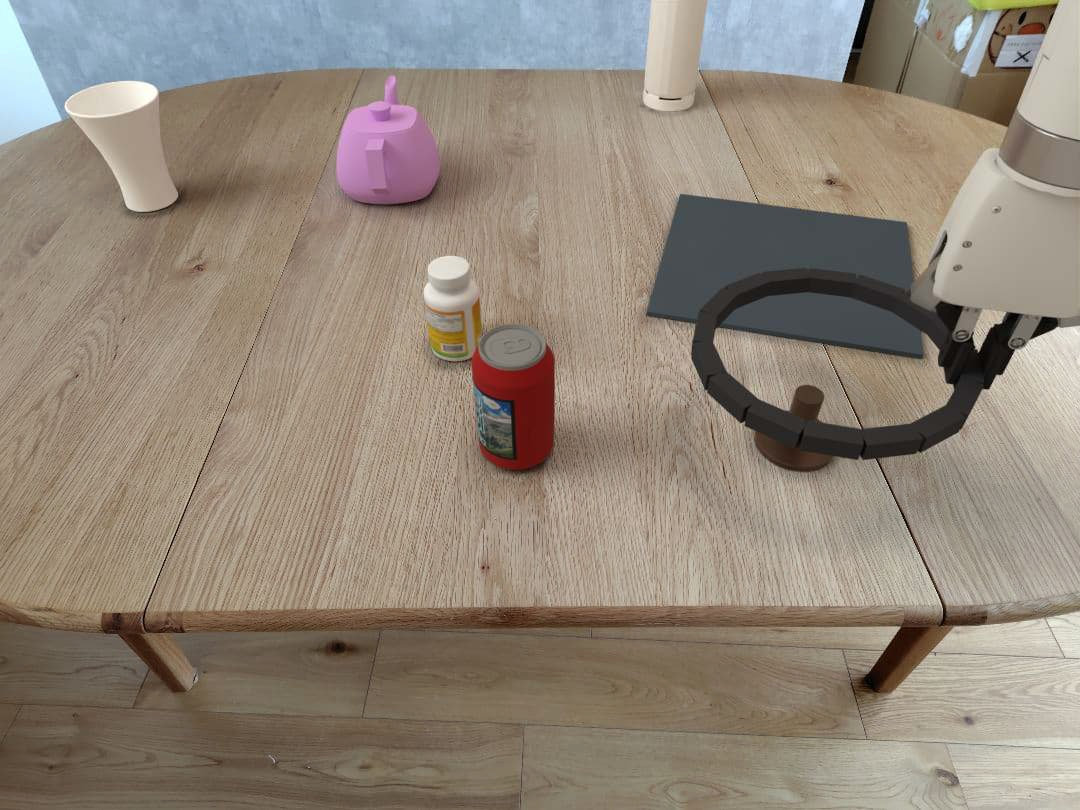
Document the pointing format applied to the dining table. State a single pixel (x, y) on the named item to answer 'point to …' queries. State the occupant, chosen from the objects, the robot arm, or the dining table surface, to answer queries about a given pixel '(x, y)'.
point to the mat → (779, 244)
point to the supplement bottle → (452, 309)
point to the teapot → (387, 152)
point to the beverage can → (514, 396)
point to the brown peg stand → (789, 458)
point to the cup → (127, 139)
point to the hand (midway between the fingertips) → (965, 374)
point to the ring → (816, 433)
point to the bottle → (673, 53)
